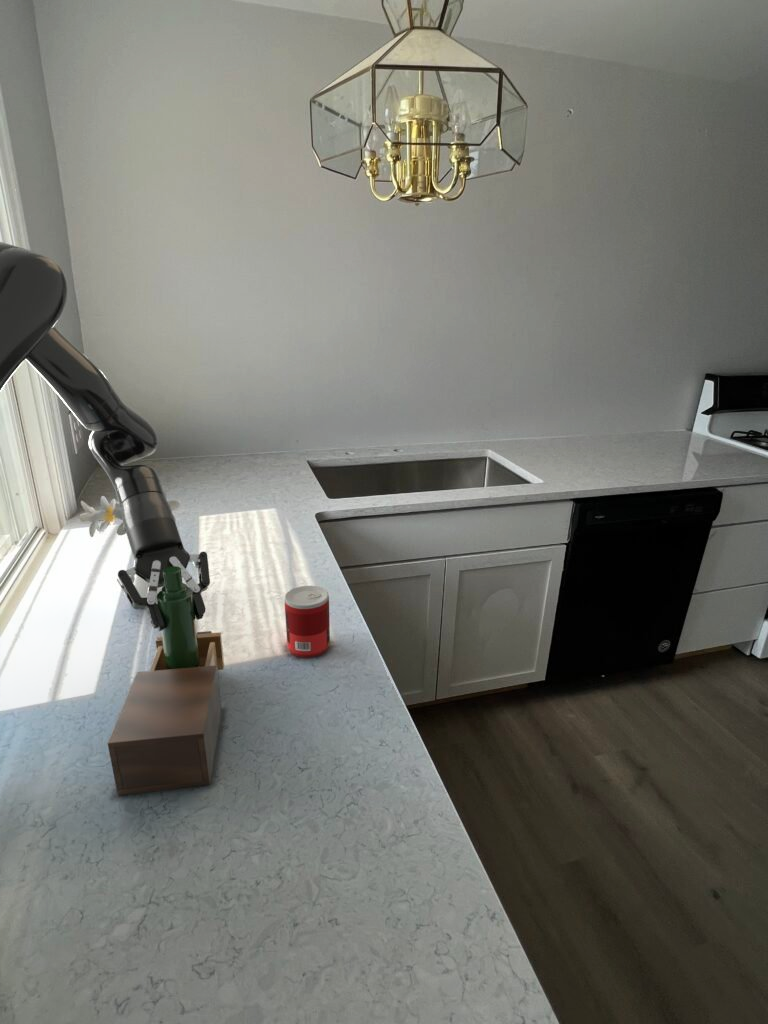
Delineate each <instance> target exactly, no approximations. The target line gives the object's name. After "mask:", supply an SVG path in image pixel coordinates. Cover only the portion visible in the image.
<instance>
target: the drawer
mask: <svg viewBox="0 0 768 1024" xmlns="http://www.w3.org/2000/svg"><path fill="white" fill-rule="evenodd" d="M197 636H198V645H199V655H200V665H199V666H198V667H204V666H217V673H218V674H219V671H224V670H225V659H224V648H223V640H222V632H221V631H220V632H212V630H208V631H197ZM155 647H156V652H155V655H154V657H153V660H152V663H151V665H150V668H149V670H148V671H156V670H167V669H166V663H165V655H164V648H163V641H162V636H156V639H155Z"/></svg>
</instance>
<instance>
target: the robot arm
mask: <svg viewBox="0 0 768 1024" xmlns="http://www.w3.org/2000/svg"><path fill="white" fill-rule="evenodd" d="M68 289H69V288H68V281H67V278H66V276H65V273H64V271H63V269H62V268H61V266H59V264H57V263H56V262H55V261H54V260H52V259H51V258H49V257H48V256H45V255H43V254H41V253H38V252H37V251H34V250H30V249H26V248H23V247H20V246H17V245H12V244H10V243H6V242H3V241H0V392H2V390H3V389H4V387H5V385H6V384H7V382H9V380H10V379H11V377H12V376H13V375H14V374H15V372H16V371H17V369H18V368H19V367H20V366H21V365H22V364H23V363H24V362H25V360H26V361H27V362H28V363H29V364H30V365H31V367H32V368H33V369H34V370H35V371H36V372H37V373H38V374H39V375H40V376H41V377H42V378H43V380H45V381H46V383H47V384H48V385H49V386H50V387H51V389H52V390H53V391H54V392H55V393H56V394H57V395H58V397H59V398H60V399H61V400H62V402H63V403H64V404H65V406H66V407H67V408H68V409H69V411H71V413H72V414H73V416H74V417H75V418H76V419H77V420H78V422H80V424H81V425H82V426H83V427H84V428H85V429H87V430H88V431H91V433H90V435H89V438H88V447H89V450H90V452H91V453H92V455H93V457H94V458H95V460H96V461H97V462H98V463H99V465H100V466H101V467H102V469H103V470H104V472H105V473H106V475H107V477H108V478H109V480H110V482H111V484H112V486H113V489H114V492H115V494H116V498H117V501H119V505H120V508H121V513H122V520H121V521H122V523H123V524H124V530H125V532H126V534H125V535H126V536H127V540H128V544H129V547H130V550H131V554H132V557H133V561H134V560H135V564H134V563H133V567H131V568H129V569H127V570H125V569H120V570H119V571H118V572H117V578H116V581H117V583H118V584H119V587H120V588H121V590H122V592H123V591H124V592H123V594H124V593H125V594H124V596H125V595H126V596H125V597H126V598H127V600H128V603H129V604H130V605H131V607H132V608H133V609H134V610H138V609H144V610H146V611H147V614H148V617H149V620H150V624H151V626H152V628H153V629H155V630H156V629H157V631H158V632H161V630H164V628H165V625H164V622H163V618H162V615H161V612H160V609H159V605H158V604H156V595H157V588H159V587H163V586H164V578H163V570H164V569H165V568H167V567H172V566H177V567H180V568H181V574H182V582H183V583H184V584H186V587H189V588H191V589H192V591H193V600H194V609H195V618H196V621H199V620H202V619H203V618H204V615H205V613H206V609H207V608H206V605H205V602H204V600H203V596H202V593H203V592H205V591H207V590H208V589H209V586H210V584H211V577H210V569H209V561H208V559H209V558H208V553H207V552H206V551H201V552H199V553H193V554H190V553H189V552H188V551H187V550H186V549H185V547H184V544H183V541H182V539H181V535H180V532H179V529H178V526H177V522H176V523H175V520H174V517H175V516H174V517H173V515H174V514H173V511H171V508H170V506H169V504H168V500H167V498H165V495H164V492H163V489H164V488H163V486H162V483H161V480H160V477H159V475H158V472H157V471H156V469H155V468H153V467H152V466H151V465H146V464H133V465H126V464H130V463H133V462H134V461H139V460H141V459H143V458H146V457H149V456H151V455H152V454H155V452H156V450H157V449H158V445H159V437H158V434H157V432H156V430H155V428H154V427H153V425H152V424H151V423H150V422H149V421H148V420H147V419H146V418H145V417H143V416H142V415H141V414H140V413H138V412H137V411H136V410H135V409H133V408H132V407H130V405H128V404H127V403H125V401H123V399H122V398H121V397H120V395H118V393H117V391H116V390H115V389H114V387H113V386H112V384H111V383H110V381H109V380H108V378H107V377H106V376H105V374H104V373H103V372H102V370H101V369H100V368H99V367H98V366H97V365H96V364H95V363H94V362H93V361H92V360H91V359H89V358H88V356H86V355H85V354H84V353H83V352H82V351H81V350H80V349H78V347H76V346H75V345H74V344H73V343H72V342H71V341H70V340H68V338H66V337H65V335H64V334H62V333H61V332H60V331H59V330H58V328H56V327H55V325H56V324H57V323H58V321H59V319H60V318H61V316H62V314H63V312H64V310H65V307H66V304H67V301H68V292H69V290H68ZM125 465H126V466H125ZM162 488H163V489H162ZM189 563H192V565H193V567H194V568H196V569H197V574H198V583H197V582H196V581H195V580H194V579H193V576H192V575H191V573H190V572H189V571H188V570H187V567H188V565H189ZM134 575H138V576H139V577H141V578H142V579H143V580H145V581H146V582H148V591H147V598H142V597H141V596H140V594H139V593H138V591H137V589H136V588H135V586H134V584H133V583H134V580H135V577H134Z"/></svg>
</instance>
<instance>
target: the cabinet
mask: <svg viewBox="0 0 768 1024" xmlns="http://www.w3.org/2000/svg"><path fill="white" fill-rule="evenodd" d="M135 672H136V671H135ZM220 691H221V690H220V682H219V672H218V673H217V666H204V667H192V668H180V669H168V670H156V671H149V670H146V671H137V672H136V673H135V674H134V678H133V680H132V682H131V685H130V687H129V689H128V692H127V695H126V697H125V700H124V702H123V704H122V707H121V709H120V712H119V714H118V716H117V719H116V722H115V724H114V726H113V729H112V731H111V734H110V736H109V738H108V741H107V748H108V753H109V758H110V763H111V767H112V773H113V779H114V782H115V787H116V792H117V796H125V795H132V794H134V795H135V794H141V793H150V792H159V791H168V790H176V789H183V788H185V789H186V788H193V787H201V786H209V785H211V781H212V773H213V768H214V761H215V755H216V748H217V743H218V737H219V736H218V735H219V731H220V723H221V719H222V718H221V717H222V713H223V712H222V701H221V692H220Z"/></svg>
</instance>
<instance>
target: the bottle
mask: <svg viewBox="0 0 768 1024" xmlns="http://www.w3.org/2000/svg"><path fill="white" fill-rule="evenodd" d="M163 578H164V586H163V587H162V589H161V591H160V592H159V593H158V594H157V604H158V605H159V609H160V612H161V615H162V618H163V622H164V625H165V628H164V630H161V631H160V633H161V637H162V641H163V648H164V655H165V663H166V669H167V670H168V669H180V668H192V667H198V666H199V665H200V655H199V645H198V636H197V632H198V628H197V619H196V616H195V609H194V600H193V591H192V589H191V588H189V587H186V584H184V583H183V582H182V574H181V568H180V567H177V566H172V567H167V568H165V569H164V570H163Z"/></svg>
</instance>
